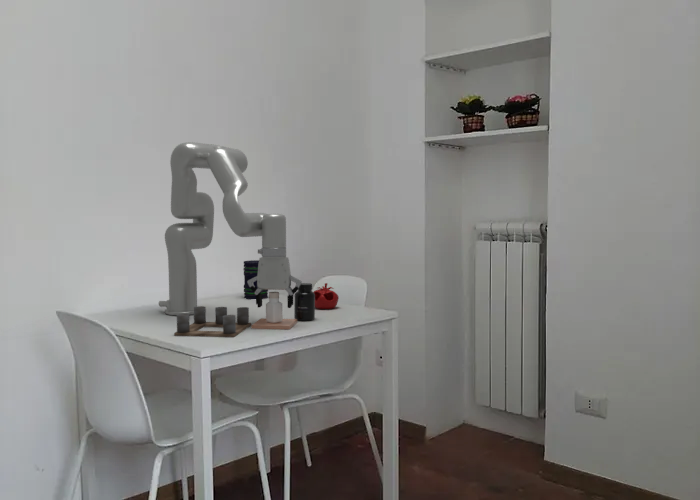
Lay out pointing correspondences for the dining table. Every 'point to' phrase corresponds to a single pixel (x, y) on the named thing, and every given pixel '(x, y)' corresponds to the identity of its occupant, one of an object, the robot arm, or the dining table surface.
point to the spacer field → (213, 323)
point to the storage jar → (250, 273)
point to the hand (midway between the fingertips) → (274, 307)
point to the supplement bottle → (304, 303)
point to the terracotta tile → (274, 324)
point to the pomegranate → (325, 298)
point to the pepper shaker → (274, 308)
